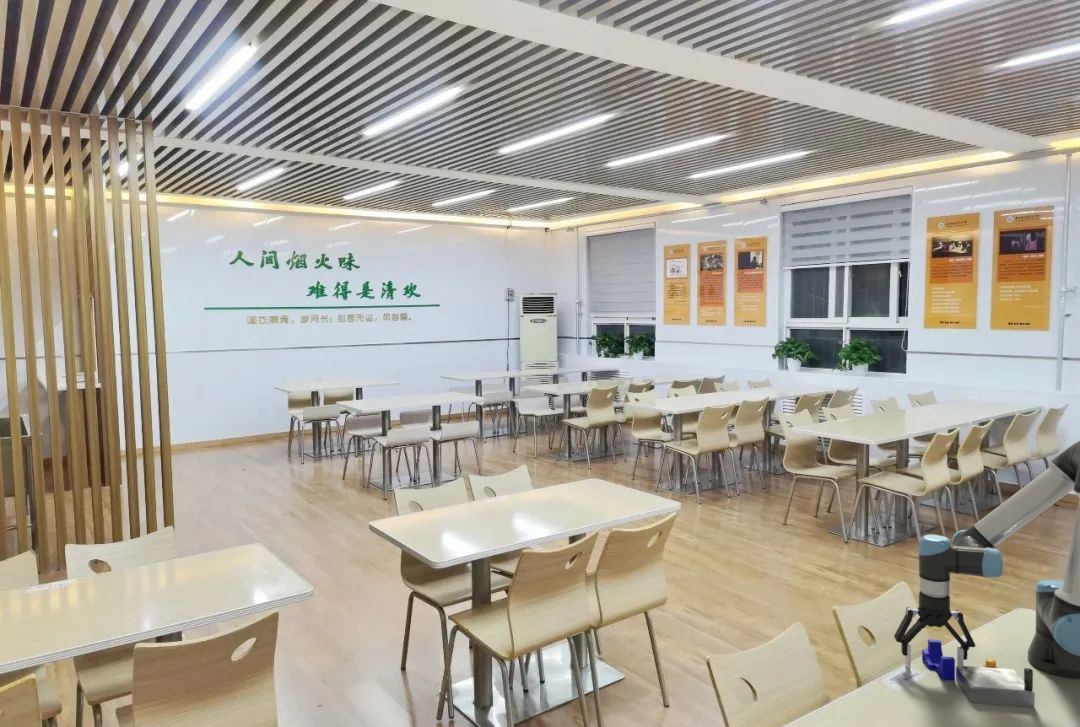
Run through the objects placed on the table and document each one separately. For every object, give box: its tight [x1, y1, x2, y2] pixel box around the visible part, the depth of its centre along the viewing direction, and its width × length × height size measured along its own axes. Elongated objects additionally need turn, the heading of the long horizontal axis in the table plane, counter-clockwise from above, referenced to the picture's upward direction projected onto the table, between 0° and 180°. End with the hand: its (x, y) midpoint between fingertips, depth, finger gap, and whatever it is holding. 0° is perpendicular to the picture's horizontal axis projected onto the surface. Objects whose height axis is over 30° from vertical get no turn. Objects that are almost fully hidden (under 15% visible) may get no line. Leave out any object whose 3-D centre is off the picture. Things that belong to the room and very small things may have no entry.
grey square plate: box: [955, 665, 1036, 708], centre depth 187 cm, size 14×12×9 cm
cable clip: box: [921, 638, 956, 682], centre depth 201 cm, size 12×4×6 cm, turn 169°
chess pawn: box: [982, 658, 999, 668], centre depth 198 cm, size 3×3×4 cm
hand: (933, 668), depth 201 cm, fingers open, 12 cm apart
